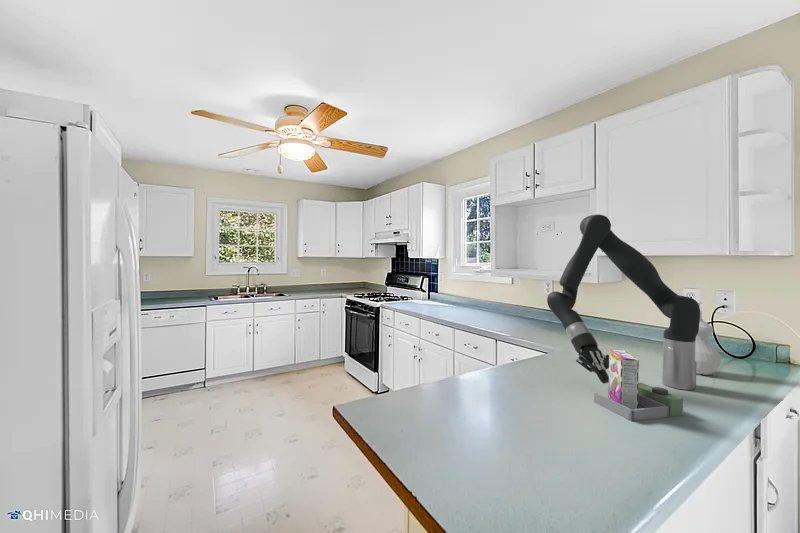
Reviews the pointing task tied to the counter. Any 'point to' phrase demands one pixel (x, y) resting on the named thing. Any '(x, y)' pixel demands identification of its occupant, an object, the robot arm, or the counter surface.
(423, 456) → the counter surface
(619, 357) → the candy bar box
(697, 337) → the soap bottle
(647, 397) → the frame with green block
